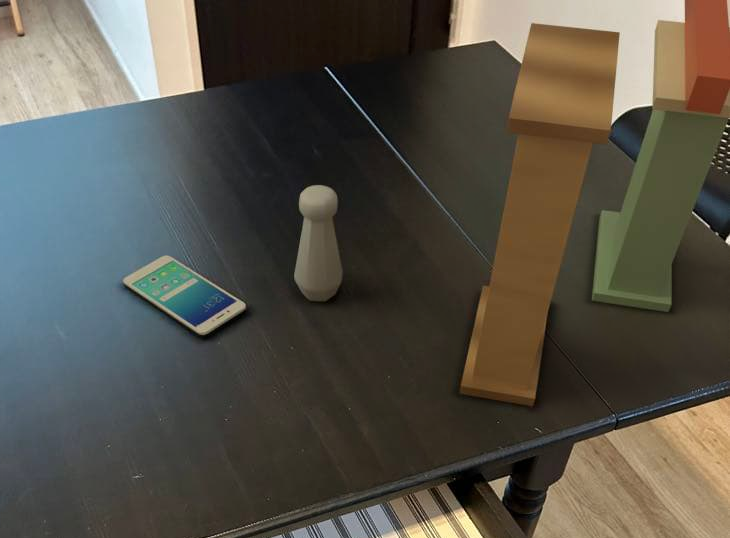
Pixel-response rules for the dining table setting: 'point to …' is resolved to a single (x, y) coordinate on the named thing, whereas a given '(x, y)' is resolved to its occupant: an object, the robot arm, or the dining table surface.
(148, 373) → the dining table surface
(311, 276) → the salt shaker
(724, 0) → the bar
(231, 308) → the smartphone
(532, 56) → the tall wooden pedestal
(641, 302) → the green pedestal column
